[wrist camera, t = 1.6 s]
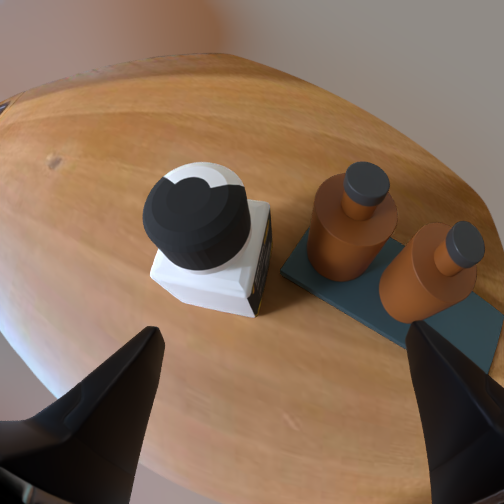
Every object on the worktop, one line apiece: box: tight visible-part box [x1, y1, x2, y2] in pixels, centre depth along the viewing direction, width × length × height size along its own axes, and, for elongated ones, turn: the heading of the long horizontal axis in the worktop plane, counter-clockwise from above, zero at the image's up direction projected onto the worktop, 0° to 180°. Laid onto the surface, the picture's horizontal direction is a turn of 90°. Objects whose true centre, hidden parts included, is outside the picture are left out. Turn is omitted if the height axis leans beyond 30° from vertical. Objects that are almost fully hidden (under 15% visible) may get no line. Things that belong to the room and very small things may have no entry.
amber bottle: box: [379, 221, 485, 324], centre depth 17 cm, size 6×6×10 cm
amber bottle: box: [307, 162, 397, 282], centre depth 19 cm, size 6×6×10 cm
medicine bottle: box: [143, 162, 273, 318], centre depth 19 cm, size 7×7×12 cm
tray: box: [280, 226, 504, 374], centre depth 21 cm, size 8×24×1 cm, turn 55°
